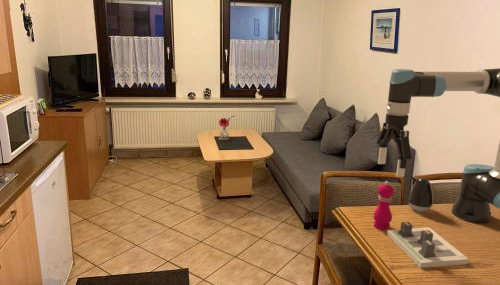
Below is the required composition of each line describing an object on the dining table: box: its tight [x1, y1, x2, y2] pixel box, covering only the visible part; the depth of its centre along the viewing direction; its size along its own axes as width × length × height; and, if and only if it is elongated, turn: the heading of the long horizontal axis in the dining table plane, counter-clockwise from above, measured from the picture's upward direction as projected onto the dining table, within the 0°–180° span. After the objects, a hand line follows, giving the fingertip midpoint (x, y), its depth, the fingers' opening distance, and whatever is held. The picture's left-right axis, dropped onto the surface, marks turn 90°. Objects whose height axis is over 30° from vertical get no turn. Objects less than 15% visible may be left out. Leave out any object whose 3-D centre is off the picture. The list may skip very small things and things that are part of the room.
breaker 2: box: [419, 240, 436, 257], centre depth 138 cm, size 4×3×5 cm
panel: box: [386, 226, 469, 269], centre depth 147 cm, size 18×23×2 cm
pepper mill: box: [372, 180, 395, 231], centre depth 160 cm, size 7×7×20 cm
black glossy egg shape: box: [407, 176, 434, 213], centre depth 177 cm, size 10×10×15 cm
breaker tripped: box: [418, 230, 433, 245], centre depth 146 cm, size 4×3×5 cm
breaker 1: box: [398, 221, 414, 237], centre depth 152 cm, size 4×3×5 cm
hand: (390, 169), depth 146 cm, fingers open, 13 cm apart
